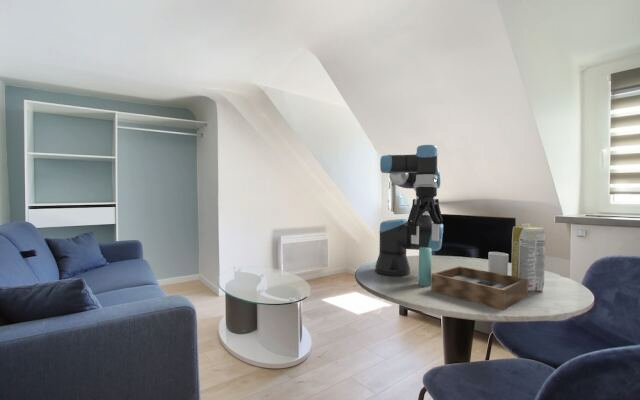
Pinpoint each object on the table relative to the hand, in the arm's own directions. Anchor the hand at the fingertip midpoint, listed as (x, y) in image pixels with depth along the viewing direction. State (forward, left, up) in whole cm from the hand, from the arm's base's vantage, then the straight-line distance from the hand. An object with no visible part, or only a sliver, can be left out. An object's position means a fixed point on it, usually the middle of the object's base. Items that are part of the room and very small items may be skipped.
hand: (425, 242), depth 120 cm
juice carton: (+26, +26, -17) cm, 40 cm away
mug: (+16, +24, -17) cm, 33 cm away
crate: (+17, +6, -16) cm, 24 cm away
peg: (0, 0, -16) cm, 16 cm away
